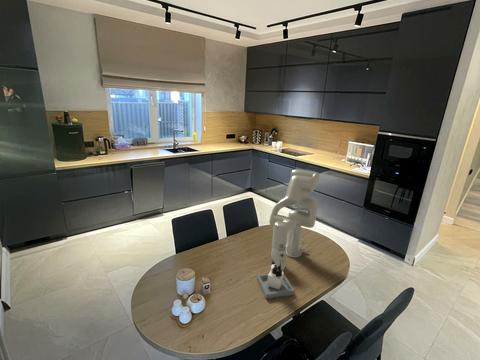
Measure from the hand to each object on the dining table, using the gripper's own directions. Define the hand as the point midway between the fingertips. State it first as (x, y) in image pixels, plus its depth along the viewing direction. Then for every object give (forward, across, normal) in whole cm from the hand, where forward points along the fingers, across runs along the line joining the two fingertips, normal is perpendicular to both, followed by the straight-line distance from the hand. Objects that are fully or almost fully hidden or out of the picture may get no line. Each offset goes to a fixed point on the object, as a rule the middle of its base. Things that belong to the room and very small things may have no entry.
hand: (276, 272), depth 142 cm
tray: (+10, 0, 0) cm, 10 cm away
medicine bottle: (+8, 0, 0) cm, 8 cm away
